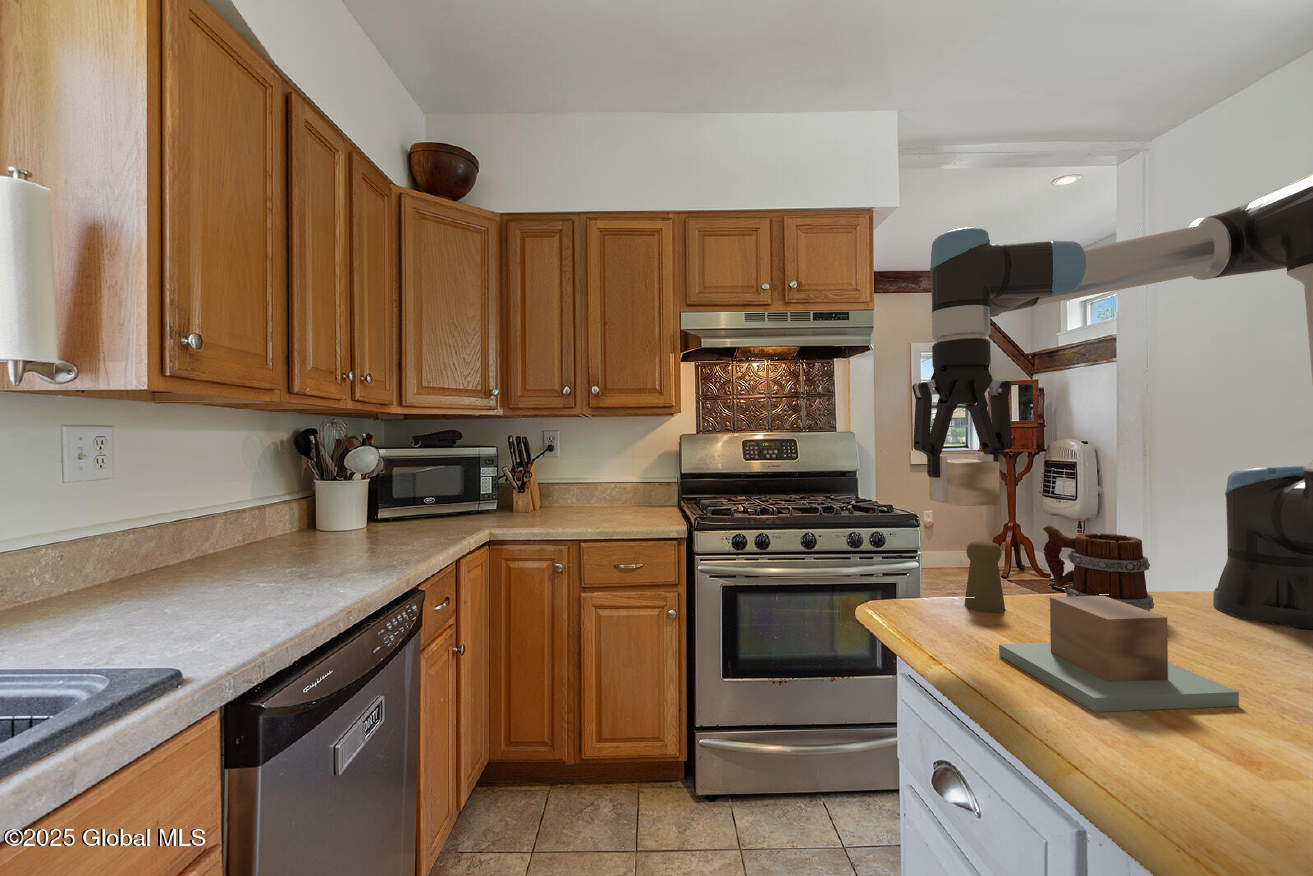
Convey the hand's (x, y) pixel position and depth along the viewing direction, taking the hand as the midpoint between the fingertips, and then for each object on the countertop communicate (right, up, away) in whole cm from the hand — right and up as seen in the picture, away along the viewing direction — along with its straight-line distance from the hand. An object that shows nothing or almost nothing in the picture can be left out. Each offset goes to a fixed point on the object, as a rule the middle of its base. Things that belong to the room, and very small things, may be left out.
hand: (963, 499), depth 86 cm
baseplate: (+9, -20, -15) cm, 27 cm away
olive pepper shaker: (+11, -20, +14) cm, 26 cm away
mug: (+29, -19, +13) cm, 37 cm away
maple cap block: (0, 0, 0) cm, 0 cm away
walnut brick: (+9, -18, -15) cm, 26 cm away
